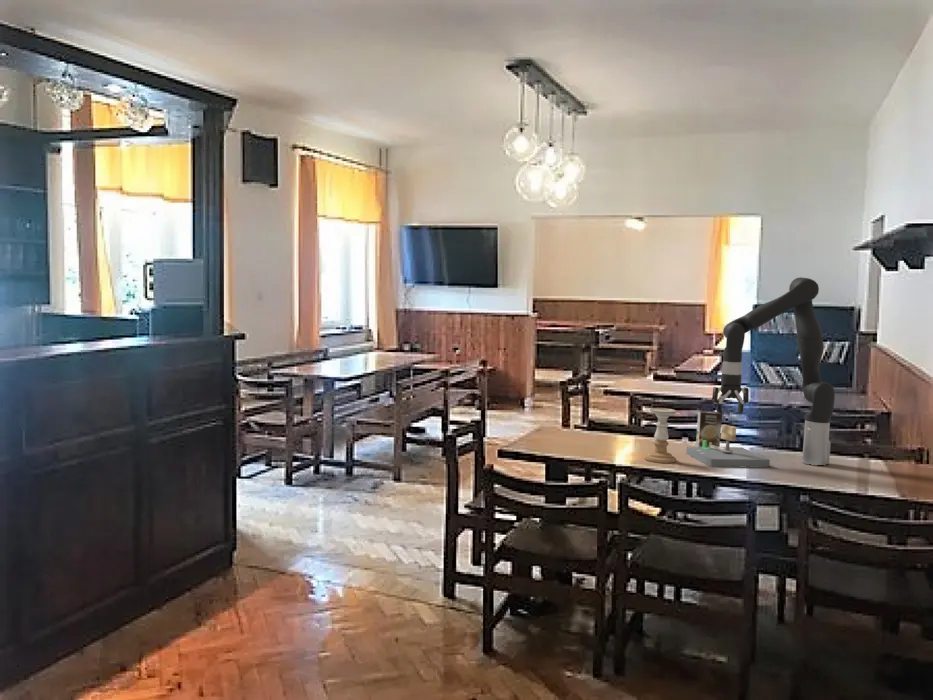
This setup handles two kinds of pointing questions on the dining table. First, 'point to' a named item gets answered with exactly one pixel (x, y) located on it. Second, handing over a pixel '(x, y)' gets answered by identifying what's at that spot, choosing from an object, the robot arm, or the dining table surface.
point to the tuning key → (726, 438)
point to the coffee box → (708, 428)
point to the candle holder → (661, 437)
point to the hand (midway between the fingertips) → (729, 413)
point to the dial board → (726, 456)
